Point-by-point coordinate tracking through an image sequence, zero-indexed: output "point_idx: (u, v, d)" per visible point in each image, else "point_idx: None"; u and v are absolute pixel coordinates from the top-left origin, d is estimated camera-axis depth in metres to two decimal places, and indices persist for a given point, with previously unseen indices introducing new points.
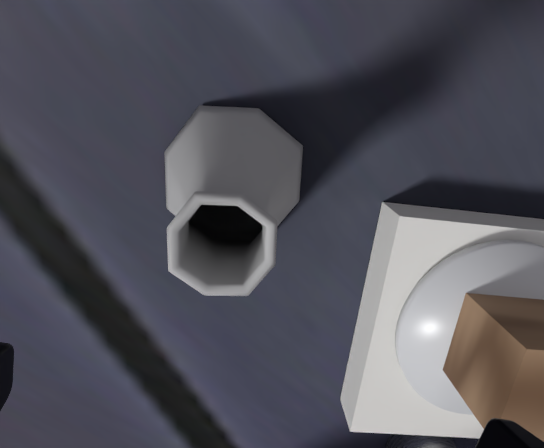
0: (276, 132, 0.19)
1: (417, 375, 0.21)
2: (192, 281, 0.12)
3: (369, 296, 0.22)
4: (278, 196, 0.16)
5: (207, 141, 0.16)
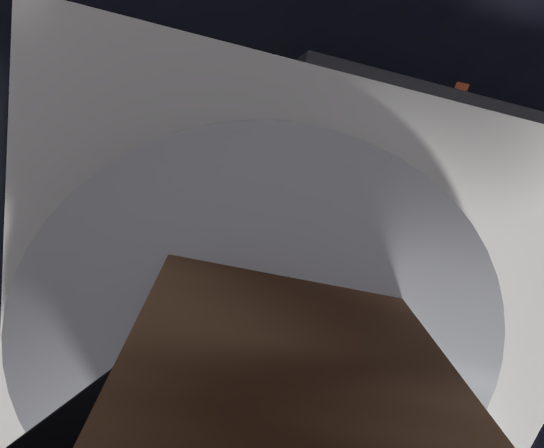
0: None
1: None
2: None
3: None
4: None
5: None
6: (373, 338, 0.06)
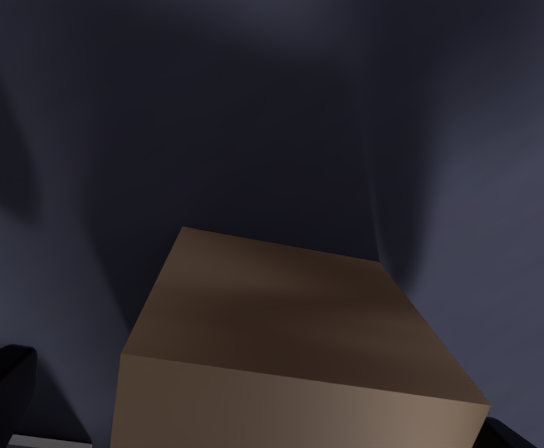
0: None
1: None
2: None
3: None
4: None
5: None
6: (349, 285, 0.08)
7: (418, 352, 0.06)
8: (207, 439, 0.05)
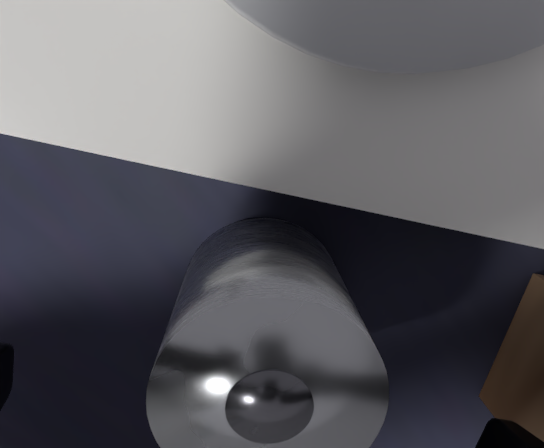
0: None
1: None
2: None
3: None
4: None
5: None
6: None
7: None
8: None
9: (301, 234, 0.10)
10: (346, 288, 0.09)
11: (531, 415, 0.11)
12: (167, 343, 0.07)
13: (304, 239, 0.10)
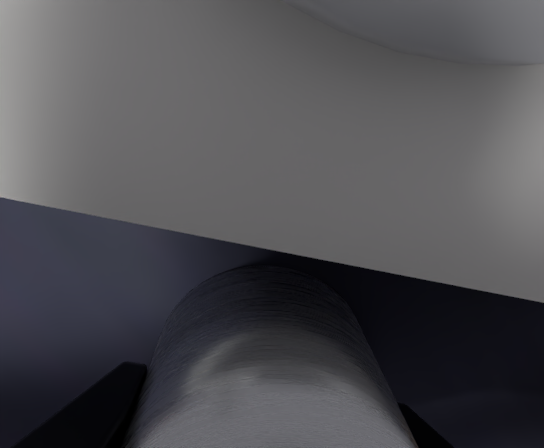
0: None
1: None
2: None
3: None
4: None
5: None
6: None
7: None
8: None
9: (317, 293, 0.07)
10: (385, 379, 0.06)
11: None
12: None
13: (322, 302, 0.07)
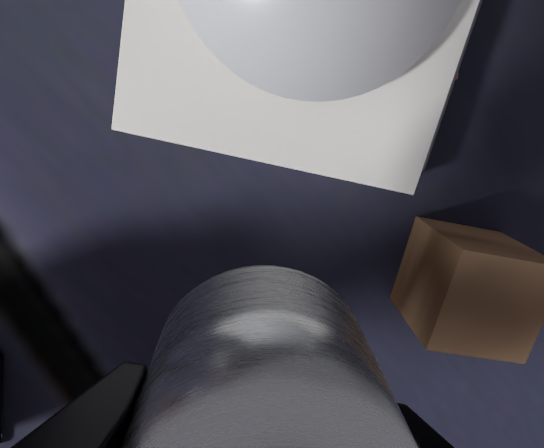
0: None
1: None
2: None
3: None
4: None
5: None
6: None
7: None
8: (532, 289, 0.16)
9: (317, 293, 0.07)
10: (385, 379, 0.06)
11: (410, 298, 0.19)
12: None
13: (322, 302, 0.07)
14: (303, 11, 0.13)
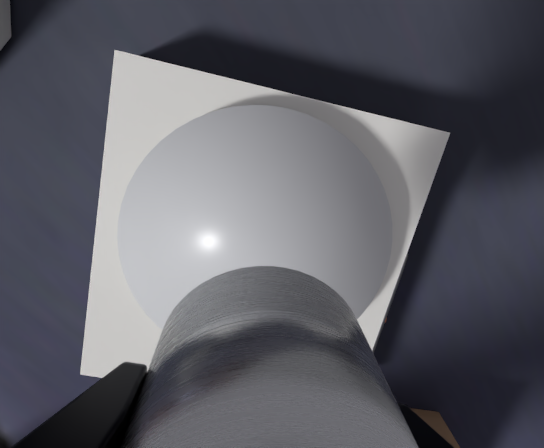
0: None
1: (150, 295, 0.15)
2: None
3: None
4: None
5: None
6: None
7: None
8: None
9: (317, 293, 0.07)
10: (385, 380, 0.06)
11: None
12: None
13: (322, 303, 0.07)
14: None
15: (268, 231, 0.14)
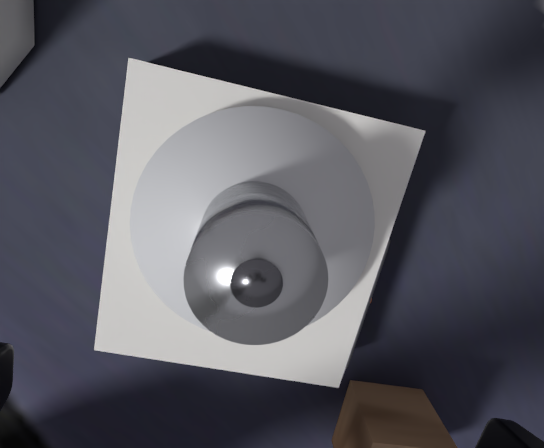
0: None
1: (158, 276, 0.17)
2: None
3: None
4: None
5: None
6: None
7: None
8: None
9: (280, 191, 0.15)
10: (308, 224, 0.14)
11: None
12: (196, 242, 0.12)
13: (282, 193, 0.15)
14: None
15: None
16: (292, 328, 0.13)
